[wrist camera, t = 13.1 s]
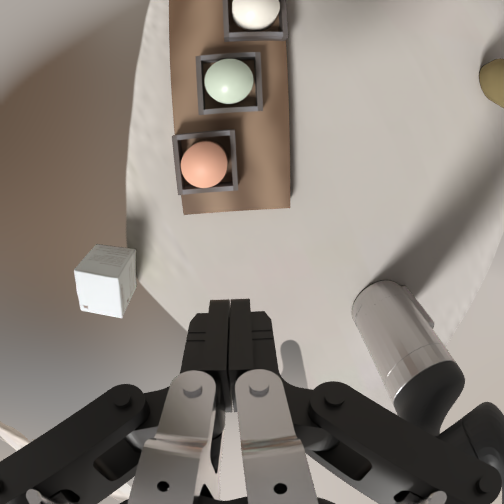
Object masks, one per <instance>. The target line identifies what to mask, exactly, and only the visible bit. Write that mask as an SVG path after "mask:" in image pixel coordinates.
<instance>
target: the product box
mask: <svg viewBox="0 0 504 504" xmlns="http://www.w3.org/2000/svg"><path fill="white" fill-rule="evenodd" d="M74 273H75V280H76V286H77V294H78V298H79V303H80V308H81V310H83V311H87V312H92V313H97V314H102V315H108V316H113V317H118V318H123V315H124V313H125V310H126V308H127V306H128V304H129V302H130V299H131V297H132V295H133V293H134V291H135V289H136V286H137V283H136V250H135V249H131V248H123V247H115V246H107V245H100V244H96V245H95V247H94V248H93V249H92V250H91V251H90V252H89V253H88V254H87V255H86V257H85V258H84V259H83V260H82V261H81V262H80V263H79V265H78V266H77V267H76V268H75V269H74Z"/></svg>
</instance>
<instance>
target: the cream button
mask: <svg viewBox="0 0 504 504" xmlns="http://www.w3.org/2000/svg"><path fill="white" fill-rule="evenodd" d="M279 10H280V3H279V0H233V2H232V17H233V20H234V22H235V23H236V25H237V26H239V27H240V28H241V29H243V30H246V31H250V32H259V31H263V30H266V29H267V28H269V27H270V26H271V25H272V24H273V23H274V21H275V19H276V17H277V15H278V13H279Z"/></svg>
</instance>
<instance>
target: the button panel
mask: <svg viewBox="0 0 504 504" xmlns="http://www.w3.org/2000/svg"><path fill="white" fill-rule="evenodd" d="M232 2H233V0H169V42H170V70H171V89H172V105H173V118H174V131H175V135H173V136H172V142H173V153H174V162H175V171H176V180H177V189H178V195H181V198H182V205H183V213H184V215H188V214H200V213H213V212H228V211H243V210H260V209H279V208H290V131H289V96H288V71H287V51H286V39H287V38H288V23H287V9H286V0H279V3H280V10H279V13H278V15H277V17H276V19H275V21H274V23H273V24H272V25H271V26H270V27H269V28H267V29H266V30H263V31H259V32H250V31H246V30H243V29H241V28H240V27H239V26H237V25H236V23H235V22H234V20H233V17H232ZM223 59H236V60H239V61H242V62H243V63H245V64H246V65H247V66H248V67H249V68H250V70H251V72H252V74H253V86H252V89H251V91H250V92H249V94H248V95H247V96H246V97H245V98H244V99H243V100H242V101H240V102H238V103H234V104H223V103H220V102H218V101H216V100H215V99H214V98H212V97H211V96H210V95H209V93H208V92H207V90H206V87H205V75H206V73H207V71H208V69H209V68H210V67H211V66H212V65H213V64H214V63H216V62H218V61H220V60H223ZM203 140H211V141H215V142H217V143H219V144H220V145H221V146H222V147H223V148H224V149H225V151H226V153H227V157H228V163H227V170H226V174H225V176H224V177H223V179H222V180H221V181H220V182H219V183H218V184H216V185H214V186H212V187H209V188H199V187H196V186H193V185H191V184H190V183H189V182H188V181H187V180H186V179H185V178H184V176H183V174H182V171H181V160H182V157H183V155H184V153H185V152H186V151H187V150H188V149H189V148H190V147H191V146H193V145H194V144H195V143H197V142H199V141H203Z"/></svg>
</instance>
